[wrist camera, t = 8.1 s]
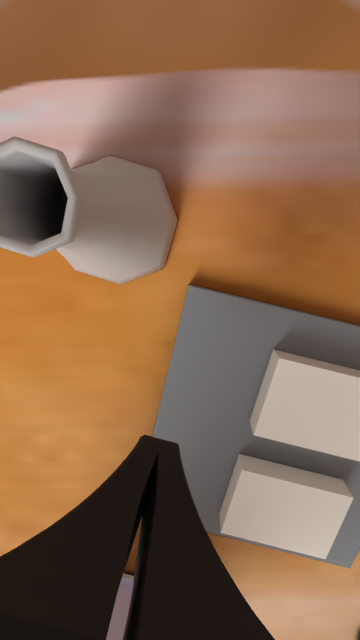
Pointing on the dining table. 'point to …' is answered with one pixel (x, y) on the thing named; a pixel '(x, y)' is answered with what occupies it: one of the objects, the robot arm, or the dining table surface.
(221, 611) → the robot arm
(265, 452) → the slate mat
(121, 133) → the dining table surface
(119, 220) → the flask
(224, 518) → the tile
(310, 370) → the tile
